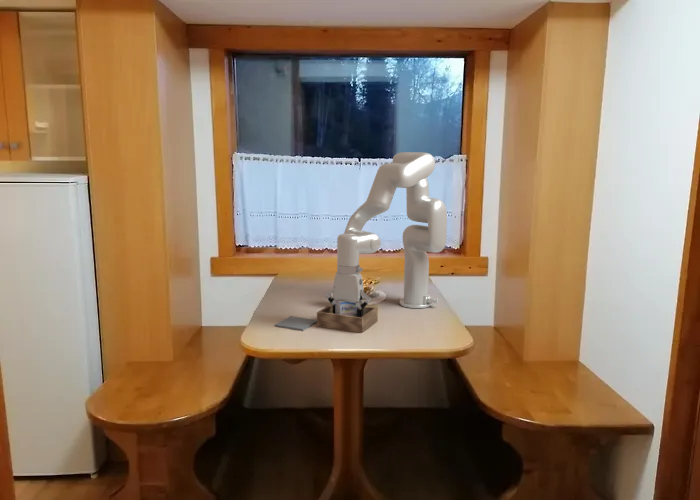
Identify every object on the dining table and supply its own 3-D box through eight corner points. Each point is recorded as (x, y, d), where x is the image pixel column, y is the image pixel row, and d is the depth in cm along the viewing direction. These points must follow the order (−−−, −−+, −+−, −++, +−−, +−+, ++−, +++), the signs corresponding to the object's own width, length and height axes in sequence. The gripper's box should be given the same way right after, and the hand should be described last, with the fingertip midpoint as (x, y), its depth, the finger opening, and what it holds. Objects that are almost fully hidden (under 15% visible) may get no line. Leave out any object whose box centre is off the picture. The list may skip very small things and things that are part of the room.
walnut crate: (377, 321, 198) (377, 307, 197) (362, 333, 185) (362, 318, 184) (334, 315, 205) (334, 302, 204) (316, 326, 192) (316, 312, 191)
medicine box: (339, 327, 192) (339, 302, 190) (334, 323, 196) (334, 299, 194) (360, 324, 195) (360, 300, 193) (355, 320, 199) (355, 297, 197)
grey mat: (317, 321, 197) (317, 320, 197) (302, 330, 187) (302, 329, 187) (290, 317, 202) (290, 316, 201) (274, 326, 192) (274, 324, 192)
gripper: (375, 269, 191) (374, 318, 195) (330, 265, 198) (330, 312, 202) (367, 274, 185) (366, 324, 188) (320, 269, 192) (320, 317, 195)
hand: (347, 317), depth 195 cm, fingers closed on medicine box, 8 cm apart
